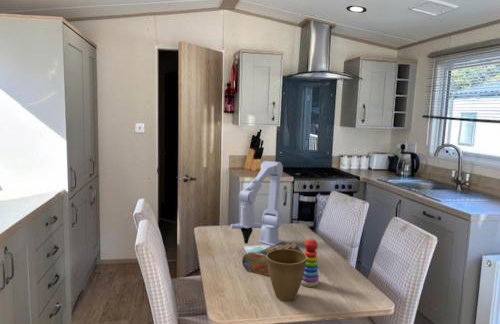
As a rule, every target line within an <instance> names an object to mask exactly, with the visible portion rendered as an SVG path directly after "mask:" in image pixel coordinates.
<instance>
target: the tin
mask: <svg viewBox="0 0 500 324" xmlns="http://www.w3.org/2000/svg"><path fill="white" fill-rule="evenodd" d="M241 261H242V262H241V263H242V266H243V268H244V269H245V270H246V271H247V272H249V273H252V274H257V275H262V276H270V275H269V270H268V264H267V256H266V255H265V254H260V253H255V252H250V253H248V252H247V253H245V254H244V255H243V257H242V260H241Z"/></svg>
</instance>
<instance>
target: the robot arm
mask: <svg viewBox="0 0 500 324" xmlns="http://www.w3.org/2000/svg"><path fill="white" fill-rule="evenodd" d="M283 171H284V165H283V164H282V162H280V161H270V160H263V161H262V162H261V164H260V170H259V172H258V174H257V175H256V177H255V178H254V179H251V180H250V182H249V183H248V185H247V186H246V187H245V189H242V190H240V191H239V194H238V196H237V197H238V198H237V199H238V201H239V206H240V222H238V223H231V224H230V228H231V230H235V229H236V230H237V229H239V230H240V231H241V234H242V237H243V242H244V244H246V245H247V244H249V239H250V236H251V235H252V233H253V229H260V231H259V233H260V236H259V241H258V242H259V243H262V244H266V245H270V246H272V245H274V246H275V247H276V245H277V246H278V245H280V244H281V243H282V240H279V231H280V229H279V228H280V227H281V226H282V224H283V222H284V221H283V219H284V218H283V212H282V211H281V210H280V209H279V199H280V198H279V197H280V185H281V184H280V183H281V178H282V177H283ZM267 177H268V178H269V180H270V181H269V191H268V205H267V208H265V210H263V213H262V217H261V223H260V222H253V217H254V216H253V215H254V214H253V213H254V207H253V206H254V202H255V201H256V197H257V195H258V193H259V192H260V190H261V188H262V183H263V182H264V181H265V179H267Z"/></svg>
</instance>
